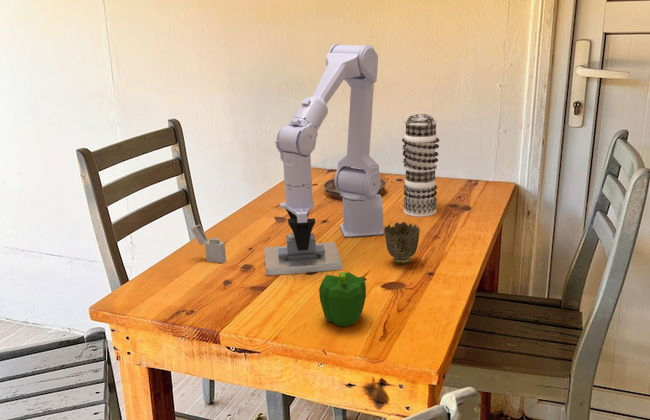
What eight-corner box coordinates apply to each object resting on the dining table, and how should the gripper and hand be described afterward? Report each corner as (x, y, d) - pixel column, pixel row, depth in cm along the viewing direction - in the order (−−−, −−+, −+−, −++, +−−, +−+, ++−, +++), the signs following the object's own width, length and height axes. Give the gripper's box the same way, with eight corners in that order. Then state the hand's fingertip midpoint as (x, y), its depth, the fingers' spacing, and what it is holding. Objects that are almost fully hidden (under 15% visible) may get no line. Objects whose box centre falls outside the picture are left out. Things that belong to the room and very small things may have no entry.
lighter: (226, 260, 150) (223, 226, 147) (222, 263, 149) (219, 228, 146) (198, 256, 152) (194, 223, 150) (194, 259, 151) (190, 226, 148)
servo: (323, 255, 150) (322, 229, 148) (325, 262, 146) (324, 234, 144) (278, 259, 149) (276, 232, 147) (279, 265, 145) (277, 238, 143)
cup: (396, 272, 140) (396, 236, 138) (378, 260, 147) (377, 226, 144) (426, 265, 143) (427, 229, 141) (406, 253, 150) (406, 219, 147)
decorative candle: (434, 218, 171) (436, 120, 163) (398, 215, 174) (398, 119, 166) (440, 207, 179) (442, 113, 171) (406, 204, 182) (406, 112, 174)
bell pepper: (327, 307, 127) (325, 257, 124) (370, 311, 124) (369, 261, 121) (313, 328, 119) (311, 276, 116) (359, 333, 117) (358, 280, 114)
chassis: (335, 248, 154) (334, 242, 154) (342, 269, 143) (342, 262, 142) (264, 254, 153) (264, 247, 152) (266, 275, 141) (265, 268, 141)
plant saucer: (314, 190, 198) (313, 180, 197) (367, 181, 205) (367, 171, 204) (340, 207, 183) (340, 196, 182) (397, 196, 190) (397, 186, 189)
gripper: (277, 174, 148) (281, 232, 153) (280, 194, 135) (284, 257, 139) (309, 172, 149) (312, 230, 153) (316, 192, 135) (319, 254, 140)
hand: (301, 243), depth 146 cm, fingers open, 7 cm apart
